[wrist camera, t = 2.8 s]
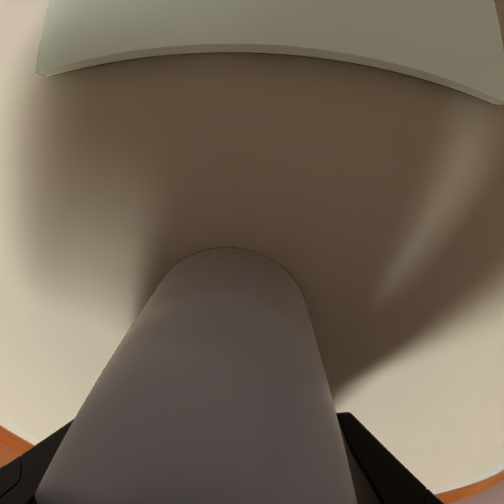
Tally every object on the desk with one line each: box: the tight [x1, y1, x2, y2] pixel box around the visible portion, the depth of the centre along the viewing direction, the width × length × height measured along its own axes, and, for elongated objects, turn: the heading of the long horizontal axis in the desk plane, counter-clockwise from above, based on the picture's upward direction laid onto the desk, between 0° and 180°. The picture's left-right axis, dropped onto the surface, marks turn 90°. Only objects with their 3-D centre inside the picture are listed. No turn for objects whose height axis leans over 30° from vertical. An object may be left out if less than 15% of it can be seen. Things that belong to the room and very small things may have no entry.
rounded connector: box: [35, 248, 358, 504], centre depth 6 cm, size 4×11×6 cm, turn 178°
